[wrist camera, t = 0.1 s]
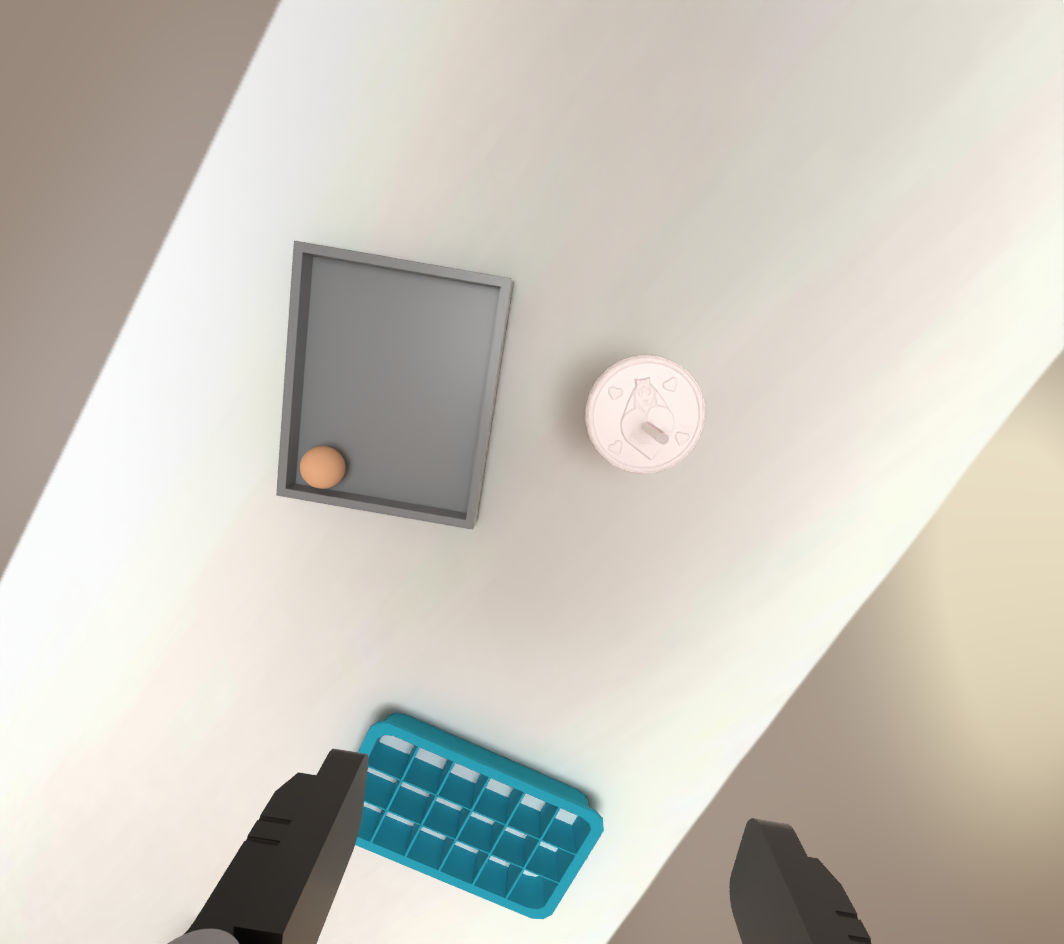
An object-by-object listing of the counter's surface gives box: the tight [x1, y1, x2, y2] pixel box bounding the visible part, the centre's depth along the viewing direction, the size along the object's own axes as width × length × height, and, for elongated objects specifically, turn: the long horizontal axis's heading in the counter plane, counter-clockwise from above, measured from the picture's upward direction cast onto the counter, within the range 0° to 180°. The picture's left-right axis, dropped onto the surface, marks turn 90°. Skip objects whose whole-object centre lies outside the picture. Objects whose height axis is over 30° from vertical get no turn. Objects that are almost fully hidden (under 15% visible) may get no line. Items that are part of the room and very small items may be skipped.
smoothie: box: [585, 355, 705, 473], centre depth 31 cm, size 6×6×14 cm
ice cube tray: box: [355, 713, 604, 919], centre depth 45 cm, size 12×20×3 cm, turn 65°
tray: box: [276, 241, 514, 529], centre depth 38 cm, size 17×14×2 cm
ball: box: [300, 446, 346, 489], centre depth 38 cm, size 3×3×3 cm
